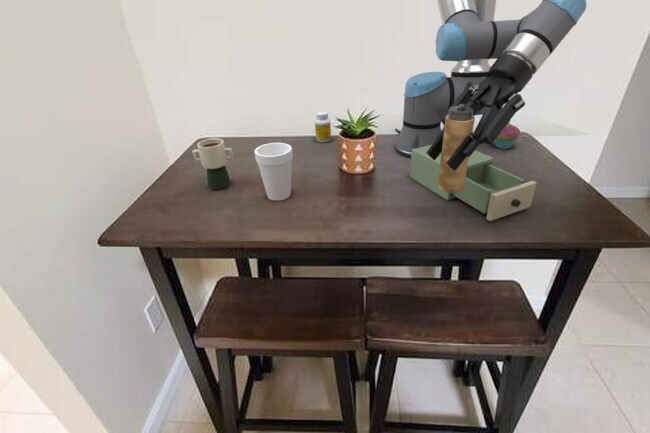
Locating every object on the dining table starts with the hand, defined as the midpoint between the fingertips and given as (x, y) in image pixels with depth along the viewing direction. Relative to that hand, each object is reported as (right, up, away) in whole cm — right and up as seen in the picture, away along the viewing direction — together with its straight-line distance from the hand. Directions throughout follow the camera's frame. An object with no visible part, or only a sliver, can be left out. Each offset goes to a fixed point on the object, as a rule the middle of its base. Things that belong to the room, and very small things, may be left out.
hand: (440, 161), depth 77 cm
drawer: (+16, -7, +16) cm, 24 cm away
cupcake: (+34, +12, +47) cm, 59 cm away
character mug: (-53, -3, +32) cm, 63 cm away
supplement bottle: (-24, +16, +60) cm, 66 cm away
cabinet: (+10, -2, +27) cm, 29 cm away
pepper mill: (+4, -5, +5) cm, 8 cm away
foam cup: (-36, -6, +26) cm, 44 cm away
